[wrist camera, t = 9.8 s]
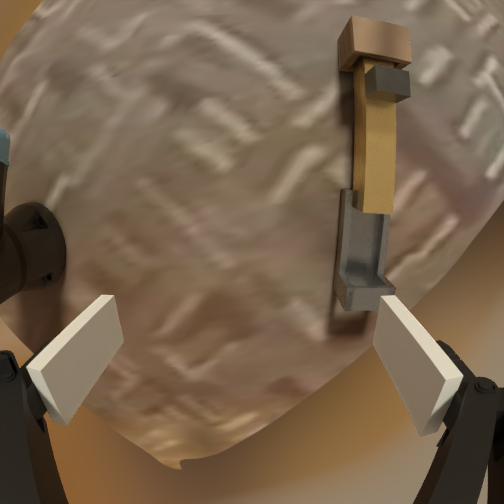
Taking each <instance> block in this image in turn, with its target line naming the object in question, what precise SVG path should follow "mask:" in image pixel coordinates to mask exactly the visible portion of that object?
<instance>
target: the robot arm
mask: <svg viewBox="0 0 504 504" xmlns="http://www.w3.org/2000/svg"><path fill="white" fill-rule="evenodd" d="M9 148H10V136H9V134H8V132H7V131H6V130H4V129H2V128H0V304H1V303H3V302H4V301H6V300H7V299H9V298H10V297H12V296H13V295H15V294H16V293H18V292H20V291H27V290H37V289H43V288H45V287H47V286H49V285H51V284H52V283H54V282H55V281H56V280H57V279H58V278H59V277H60V275H61V274H62V271H63V269H64V265H65V258H66V249H65V242H64V237H63V234H62V231H61V228H60V226H59V224H58V222H57V220H56V218H55V217H54V216H53V214H52V213H51V212H50V211H49V210H48V209H47V208H46V207H44V206H43V205H41V204H39V203H34V202H30V203H25V204H21V205H19V206H17V207H15V208H14V209H12V210H11V211H10V212H9V213H8V214H6V215H5V216H4V201H5V188H6V178H7V169H8V167H9V162H8V157H9ZM123 343H124V339H123V335H122V331H121V326H120V322H119V317H118V312H117V307H116V302H115V297H114V295H101V296H100V297H99V298H98V299H96V300H95V301H94V302H93V303H92V304H91V305H90V306H89V307H88V308H87V309H85V310H84V311H83V312H82V313H81V314H80V315H79V316H78V317H77V318H76V319H75V320H74V321H72V322H71V323H70V324H69V325H68V326H67V327H66V328H65V329H64V330H63V331H62V332H61V333H60V334H59V335H58V336H57V337H55V338H53V339H51V340H49V341H48V342H46V343H45V344H44V345H43V346H42V347H41V348H40V350H38V351H37V352H36V353H35V354H34V355H33V356H32V357H31V358H30V359H29V360H28V361H27V362H26V363H25V364H24V365H23V366H22V367H21V368H19V367H18V364H17V361H16V359H15V356H14V354H13V353H12V352H11V351H7V350H4V351H0V504H69V503H68V501H67V498H66V495H65V492H64V489H63V486H62V483H61V480H60V477H59V473H58V470H57V466H56V462H55V459H54V455H53V451H52V447H51V443H50V438H49V434H48V429H47V424H46V421H45V419H44V417H43V415H44V414H45V412H46V411H47V412H48V414H49V415H50V417H51V419H52V421H54V422H57V423H60V424H63V425H66V426H67V425H68V423H69V422H70V420H71V419H72V417H73V416H74V414H75V412H76V411H77V409H78V408H79V406H80V405H81V403H82V402H83V400H84V399H85V397H86V396H87V394H88V393H89V391H90V390H91V388H92V387H93V386H94V384H95V383H96V381H97V380H98V378H99V377H100V375H101V374H102V372H103V371H104V370H105V368H106V367H107V365H108V364H109V362H110V361H111V360H112V358H113V357H114V355H115V354H116V352H117V351H118V350H119V348H120V347H121V345H122V344H123ZM373 346H374V348H375V350H376V351H377V353H378V355H379V357H380V359H381V361H382V362H383V364H384V366H385V368H386V370H387V372H388V374H389V376H390V377H391V379H392V381H393V383H394V385H395V387H396V389H397V391H398V393H399V395H400V397H401V398H402V401H403V403H404V404H405V407H406V408H407V410H408V413H409V414H410V416H411V419H412V420H413V423H414V425H415V426H416V429H417V430H418V433H419V435H420V436H424V435H428V434H431V433H435V432H437V431H438V429H439V427H440V425H441V424H442V422H444V424H445V425H446V427H447V428H446V430H445V432H444V434H443V436H442V438H441V439H440V441H439V443H438V444H437V447H438V450H437V452H436V455H435V458H434V460H433V462H432V465H431V467H430V469H429V472H428V474H427V476H426V478H425V480H424V482H423V484H422V486H421V489H420V491H419V493H418V495H417V497H416V499H415V500H414V502H413V504H477V501H478V498H479V494H480V491H481V488H482V484H483V480H484V477H485V473H486V469H487V465H488V500H487V504H504V388H498V386H497V385H496V384H495V382H493V381H492V380H490V379H488V378H485V377H475V375H474V374H473V373H472V372H471V371H470V369H469V368H468V367H467V366H466V365H465V363H464V362H463V361H462V360H460V358H459V356H458V355H457V354H455V352H454V351H453V349H452V348H451V347H450V346H449V345H447V344H445V343H444V342H442V341H440V340H439V341H435V340H434V339H433V338H432V337H431V336H430V335H429V333H428V332H427V331H426V330H425V329H424V328H423V326H422V325H421V324H420V323H419V322H418V321H417V320H416V318H415V317H414V316H413V315H412V314H411V313H410V312H409V311H408V309H407V308H406V307H405V306H404V305H403V304H402V303H401V302H400V301H399V299H398V298H397V297H396V296H395V295H390V296H381V298H380V304H379V311H378V317H377V322H376V328H375V333H374V338H373Z"/></svg>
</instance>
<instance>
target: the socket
mask: <svg viewBox="0 0 504 504" xmlns="http://www.w3.org/2000/svg"><path fill="white" fill-rule="evenodd" d="M338 53H339V71H347V72H354V69H353V63H354V62H355V61H356V60H357V58H358V57H359V56H360V55H362V56H368V57H373V58H379V59H384V60H389V61H393V64H394V68H395V69H400V70H401V69H403V68H404V67H406V66H407V65H409V64H410V63H412V57H411V48H410V40H409V33H408V28H407V27H403V26H399V25H396V24H391V23H387V22H383V21H378V20H374V19H369V18H363V17H358V16H351V17H350V19H349V21H348V23H347V24H346V26H345V28H344V30H343V31H342V33H341V35H340V37H339V38H338Z"/></svg>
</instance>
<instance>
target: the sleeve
mask: <svg viewBox="0 0 504 504" xmlns="http://www.w3.org/2000/svg"><path fill="white" fill-rule="evenodd" d="M352 195H353V189H341V201H340V217H339V231H338V243H337V254H336V264H335V274H334V283H333V289H334V291H335V293H336V295H337V297H338V299H339V301H340V303H341V305H342V307H343V309H344V311H364V310H379V304H380V298H381V296H390V295H395V290H396V288H395V287H394V286H393V285H392V283H391V282H390V281H389V280H388V279H387V278H386V277H385V276H384V275H383V272H384V265H385V258H386V251H387V243H388V234H389V224H390V214H376V213H363V212H361V211H359V210H357V209H355V208H353V207H352Z"/></svg>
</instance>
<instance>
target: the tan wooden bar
mask: <svg viewBox="0 0 504 504" xmlns="http://www.w3.org/2000/svg"><path fill="white" fill-rule="evenodd" d="M353 69H354V100H355V143H354V176H353V195H352V207H353V208H355V209H357V210H359V211H361V212H363V213H376V214H390V215H392V212H393V200H394V185H395V164H396V103H397V102H400V101H402V100H404V99H406V98H409V97H410V80H409V71H404V70H400V69H395V68H394V64H393V61H389V60H384V59H379V58H373V57H368V56H362V55H360V56H359V57H358V58H357V60H356V61H355V62H354V63H353Z"/></svg>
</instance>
